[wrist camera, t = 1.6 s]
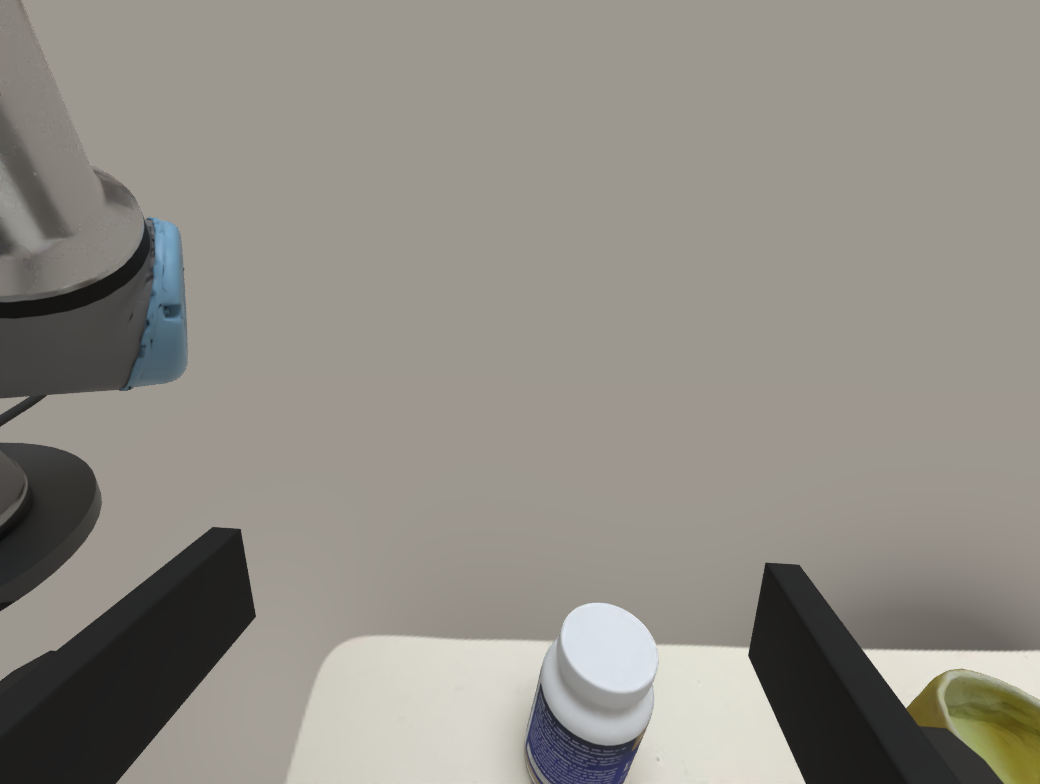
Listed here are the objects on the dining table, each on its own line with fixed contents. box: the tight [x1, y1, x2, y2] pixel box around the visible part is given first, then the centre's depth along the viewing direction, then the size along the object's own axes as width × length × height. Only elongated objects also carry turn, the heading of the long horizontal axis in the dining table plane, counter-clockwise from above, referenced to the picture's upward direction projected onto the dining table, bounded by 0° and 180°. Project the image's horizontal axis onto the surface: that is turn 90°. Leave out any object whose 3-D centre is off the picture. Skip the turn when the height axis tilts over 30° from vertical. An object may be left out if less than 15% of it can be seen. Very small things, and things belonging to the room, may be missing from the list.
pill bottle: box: [524, 603, 658, 784], centre depth 25 cm, size 6×6×10 cm
